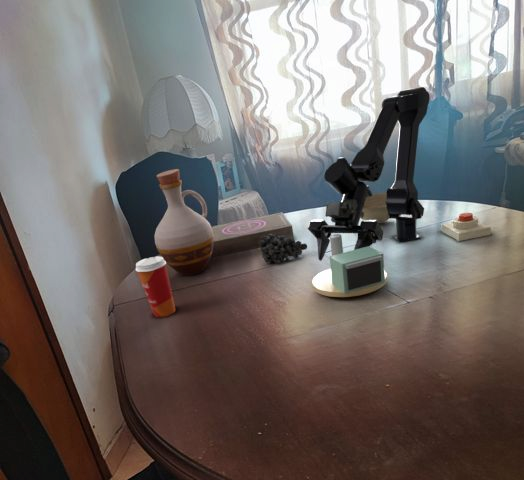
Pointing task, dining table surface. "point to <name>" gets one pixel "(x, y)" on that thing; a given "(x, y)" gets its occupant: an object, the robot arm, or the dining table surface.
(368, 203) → the bowl
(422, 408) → the dining table surface
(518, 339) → the dining table surface
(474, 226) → the box
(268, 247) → the fruit
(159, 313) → the paper cup
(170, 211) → the jug
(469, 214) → the button
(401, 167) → the robot arm
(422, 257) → the dining table surface
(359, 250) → the round platter with block
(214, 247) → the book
